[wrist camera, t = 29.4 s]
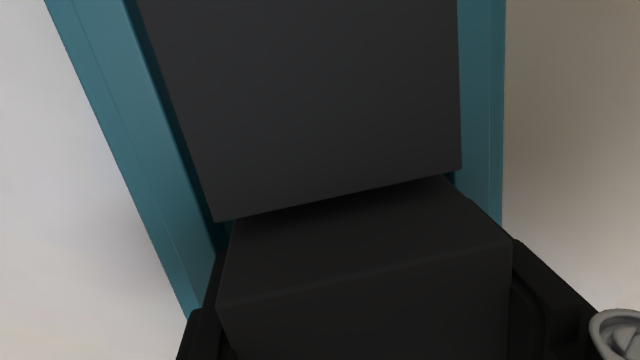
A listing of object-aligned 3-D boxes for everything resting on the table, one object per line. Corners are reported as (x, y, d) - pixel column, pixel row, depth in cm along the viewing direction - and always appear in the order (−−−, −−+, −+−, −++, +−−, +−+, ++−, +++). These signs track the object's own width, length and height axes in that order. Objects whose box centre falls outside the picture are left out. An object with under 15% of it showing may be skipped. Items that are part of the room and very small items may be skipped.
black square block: (432, 163, 9) (515, 239, 6) (442, 313, 11) (508, 430, 8) (235, 206, 9) (211, 306, 6) (281, 349, 11) (282, 483, 8)
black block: (386, -83, 8) (454, -148, 5) (406, 125, 10) (463, 169, 7) (172, -40, 8) (106, -80, 5) (233, 162, 10) (214, 224, 7)
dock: (486, -338, 8) (574, -490, 5) (487, 327, 15) (523, 380, 13) (-39, -241, 7) (-179, -358, 5) (229, 386, 15) (220, 451, 13)
